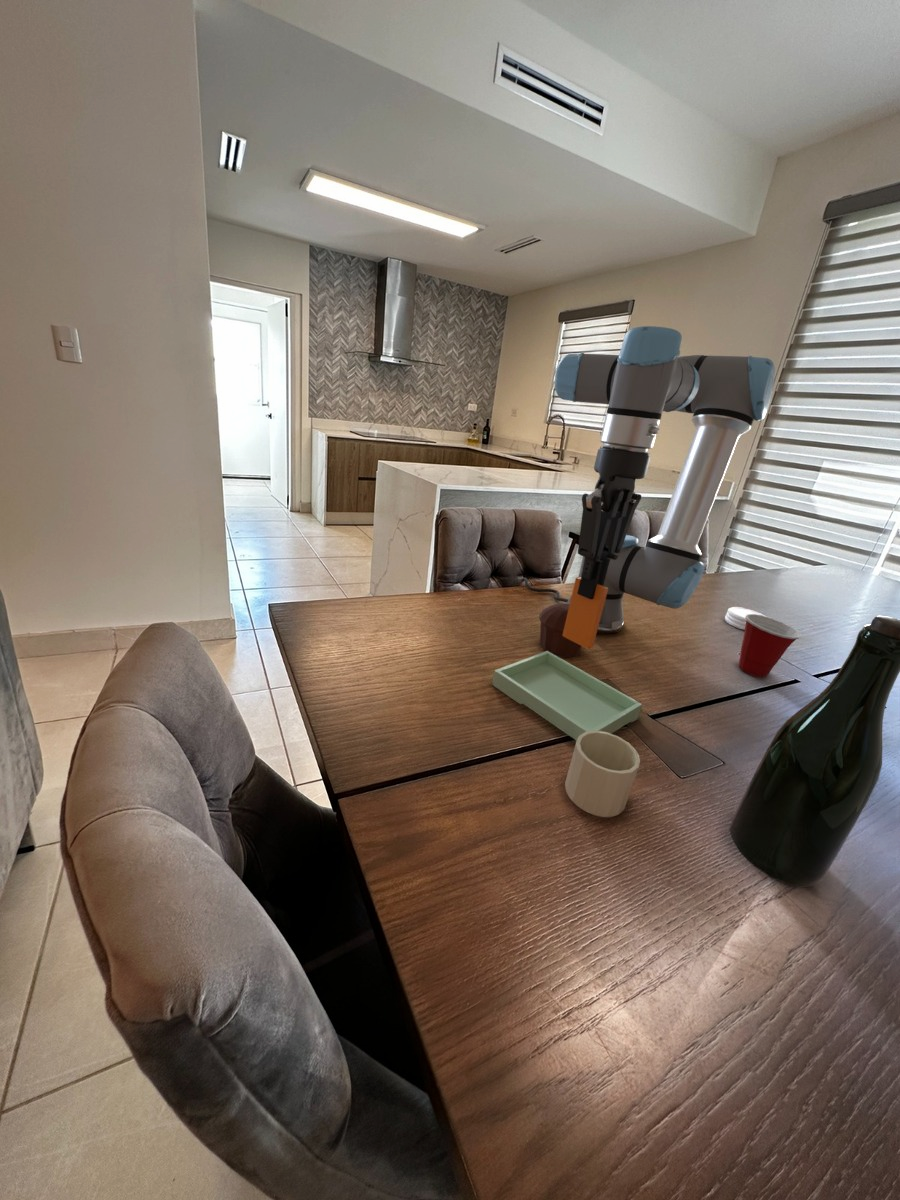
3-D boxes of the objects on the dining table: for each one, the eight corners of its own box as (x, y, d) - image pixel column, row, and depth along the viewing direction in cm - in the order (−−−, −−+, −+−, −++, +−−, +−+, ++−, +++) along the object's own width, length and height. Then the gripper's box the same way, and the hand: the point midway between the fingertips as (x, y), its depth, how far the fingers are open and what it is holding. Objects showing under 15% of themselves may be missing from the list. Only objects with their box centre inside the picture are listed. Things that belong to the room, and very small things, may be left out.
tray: (491, 684, 89) (494, 670, 88) (544, 663, 99) (547, 650, 98) (586, 751, 74) (591, 734, 73) (637, 719, 84) (642, 704, 83)
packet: (562, 635, 83) (575, 577, 79) (567, 634, 84) (580, 576, 80) (588, 649, 79) (603, 589, 75) (592, 647, 80) (608, 588, 76)
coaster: (764, 624, 134) (768, 613, 133) (764, 636, 126) (768, 624, 125) (725, 614, 139) (729, 603, 137) (722, 624, 131) (727, 613, 129)
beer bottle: (841, 879, 58) (992, 642, 45) (782, 901, 54) (928, 649, 41) (764, 812, 67) (871, 598, 54) (709, 826, 63) (810, 601, 50)
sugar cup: (552, 789, 66) (564, 744, 63) (586, 766, 71) (599, 723, 68) (602, 830, 60) (618, 782, 57) (635, 802, 65) (651, 757, 62)
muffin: (589, 645, 109) (599, 606, 106) (580, 665, 100) (591, 623, 96) (540, 630, 114) (548, 592, 110) (527, 649, 104) (535, 608, 100)
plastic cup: (790, 688, 101) (813, 639, 97) (737, 677, 103) (757, 629, 98) (769, 664, 111) (789, 618, 106) (720, 654, 113) (738, 609, 108)
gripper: (621, 450, 62) (582, 611, 71) (672, 453, 71) (631, 596, 80) (575, 442, 67) (543, 594, 76) (628, 446, 76) (594, 581, 85)
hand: (588, 595), depth 78 cm, fingers closed on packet
